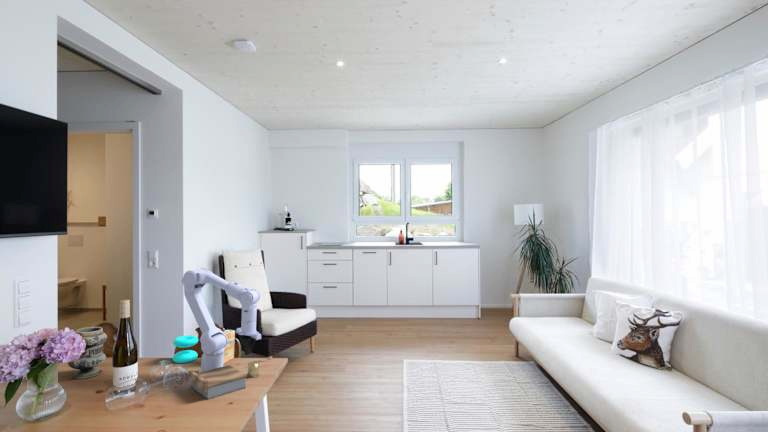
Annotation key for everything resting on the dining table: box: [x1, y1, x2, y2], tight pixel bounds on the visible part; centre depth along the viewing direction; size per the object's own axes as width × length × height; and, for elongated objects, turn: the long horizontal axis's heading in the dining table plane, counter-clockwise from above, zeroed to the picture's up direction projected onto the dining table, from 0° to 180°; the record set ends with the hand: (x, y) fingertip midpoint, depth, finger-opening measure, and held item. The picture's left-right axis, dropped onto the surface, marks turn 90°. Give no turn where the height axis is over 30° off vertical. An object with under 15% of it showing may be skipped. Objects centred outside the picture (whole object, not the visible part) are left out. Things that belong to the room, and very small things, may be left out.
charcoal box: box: [191, 377, 247, 400], centre depth 143 cm, size 14×14×4 cm
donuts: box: [172, 334, 199, 364], centre depth 171 cm, size 10×10×10 cm
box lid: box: [188, 364, 248, 392], centre depth 142 cm, size 14×16×3 cm
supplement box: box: [221, 329, 236, 365], centre depth 171 cm, size 8×5×13 cm, turn 168°
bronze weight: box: [246, 361, 260, 379], centre depth 155 cm, size 4×4×5 cm
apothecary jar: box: [67, 326, 108, 380], centre depth 152 cm, size 12×12×18 cm
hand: (247, 354), depth 153 cm, fingers closed
